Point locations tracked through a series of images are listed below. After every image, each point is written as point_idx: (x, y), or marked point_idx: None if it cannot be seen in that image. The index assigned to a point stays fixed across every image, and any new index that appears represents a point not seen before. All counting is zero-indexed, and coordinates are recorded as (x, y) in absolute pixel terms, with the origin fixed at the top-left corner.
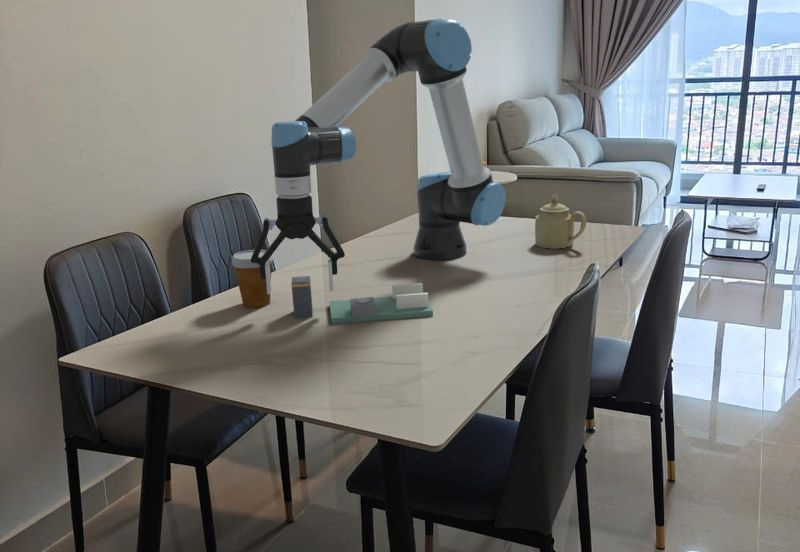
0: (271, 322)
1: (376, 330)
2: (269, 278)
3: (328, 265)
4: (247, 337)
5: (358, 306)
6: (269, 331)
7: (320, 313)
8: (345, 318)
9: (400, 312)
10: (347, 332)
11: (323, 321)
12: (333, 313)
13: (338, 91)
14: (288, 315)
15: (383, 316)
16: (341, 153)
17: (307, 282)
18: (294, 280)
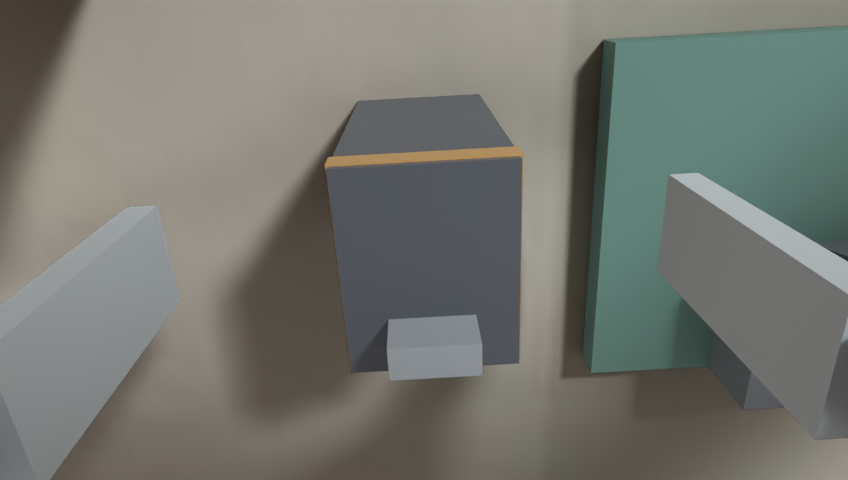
0: (242, 283)
1: (779, 455)
2: (119, 380)
3: (788, 410)
4: (169, 455)
5: (781, 404)
6: (262, 402)
7: (530, 178)
8: (667, 366)
9: None
10: (644, 460)
11: (541, 311)
12: (612, 297)
13: None
14: (326, 181)
15: None
16: None
17: (496, 359)
18: (367, 282)
